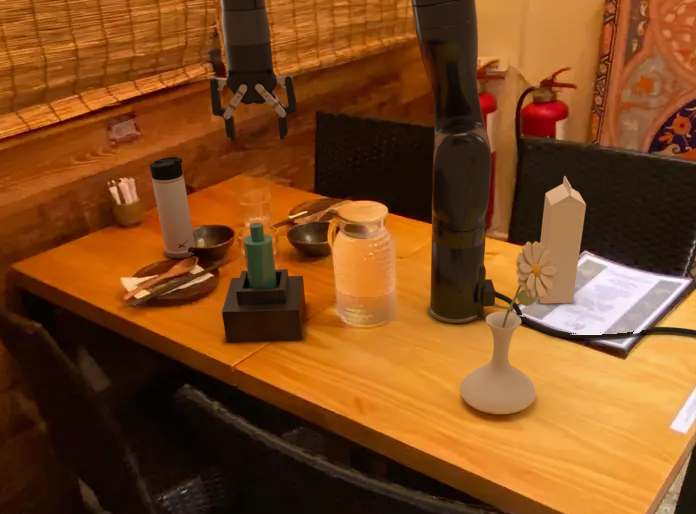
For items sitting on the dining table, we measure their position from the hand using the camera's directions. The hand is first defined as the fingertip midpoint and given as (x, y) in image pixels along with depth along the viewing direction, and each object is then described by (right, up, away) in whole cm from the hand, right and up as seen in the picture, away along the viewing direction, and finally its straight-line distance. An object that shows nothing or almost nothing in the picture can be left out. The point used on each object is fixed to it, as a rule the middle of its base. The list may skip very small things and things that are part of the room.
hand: (258, 139), depth 137 cm
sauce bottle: (+1, -27, 0) cm, 27 cm away
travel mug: (-21, -14, +29) cm, 39 cm away
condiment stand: (+1, -32, +3) cm, 32 cm away
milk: (+54, -26, +10) cm, 61 cm away
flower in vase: (+40, -46, -17) cm, 63 cm away
